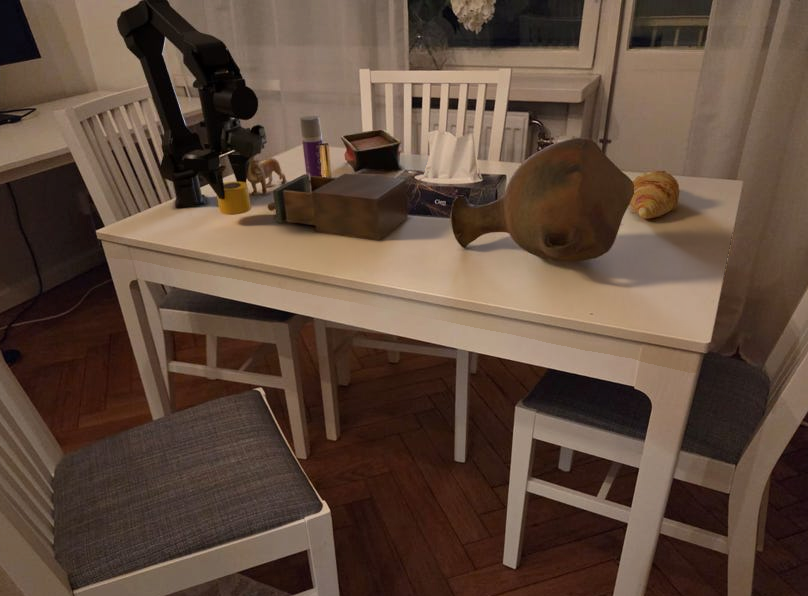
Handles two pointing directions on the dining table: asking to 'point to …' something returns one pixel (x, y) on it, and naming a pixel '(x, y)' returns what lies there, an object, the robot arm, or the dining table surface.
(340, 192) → the cabinet
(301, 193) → the drawer
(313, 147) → the container
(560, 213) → the jug
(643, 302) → the dining table surface
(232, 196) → the tape roll
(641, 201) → the croissant
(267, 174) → the lion figurine
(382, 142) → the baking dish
